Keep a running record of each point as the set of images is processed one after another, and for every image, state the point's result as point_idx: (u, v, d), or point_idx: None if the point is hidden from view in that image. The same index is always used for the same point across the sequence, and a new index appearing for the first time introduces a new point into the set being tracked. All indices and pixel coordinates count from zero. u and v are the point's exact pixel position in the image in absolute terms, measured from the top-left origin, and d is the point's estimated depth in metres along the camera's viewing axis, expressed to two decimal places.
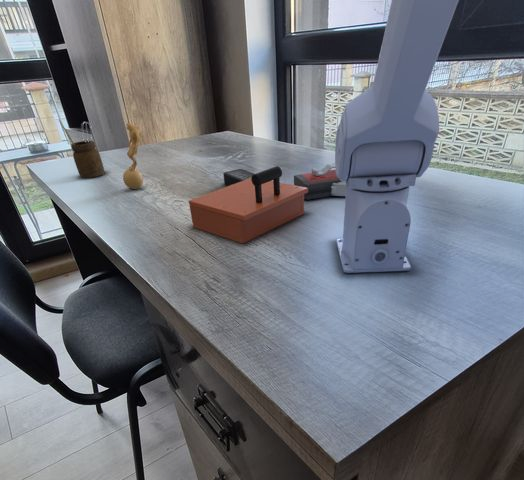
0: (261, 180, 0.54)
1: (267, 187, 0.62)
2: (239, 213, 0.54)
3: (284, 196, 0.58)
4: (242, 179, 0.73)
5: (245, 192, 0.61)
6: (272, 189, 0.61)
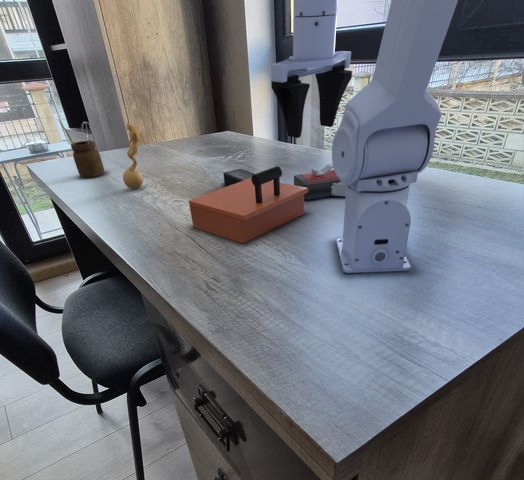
0: (261, 180, 0.54)
1: (267, 187, 0.62)
2: (239, 213, 0.54)
3: (284, 196, 0.58)
4: (242, 179, 0.73)
5: (245, 192, 0.61)
6: (272, 189, 0.61)
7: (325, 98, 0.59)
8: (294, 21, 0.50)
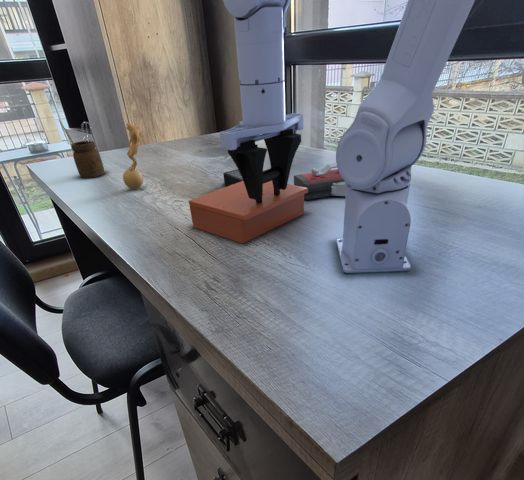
0: None
1: (267, 187, 0.62)
2: (239, 213, 0.54)
3: (284, 196, 0.58)
4: (242, 179, 0.73)
5: (245, 192, 0.61)
6: (272, 189, 0.61)
7: (276, 161, 0.57)
8: (241, 89, 0.48)
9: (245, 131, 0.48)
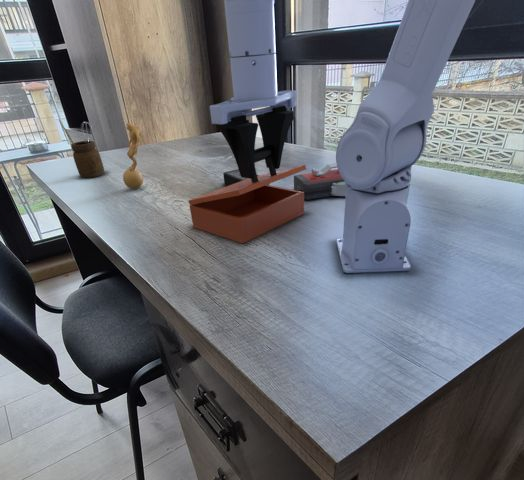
0: None
1: (265, 175, 0.61)
2: (234, 190, 0.52)
3: (281, 173, 0.56)
4: (242, 179, 0.73)
5: (243, 183, 0.60)
6: (269, 174, 0.60)
7: (268, 140, 0.56)
8: (231, 62, 0.47)
9: (235, 105, 0.47)
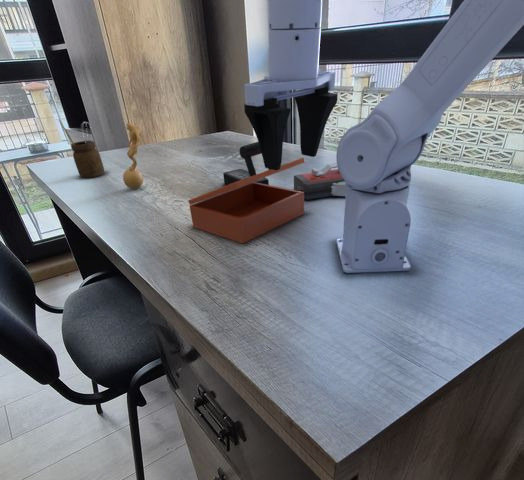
0: (249, 150, 0.53)
1: None
2: (232, 183, 0.52)
3: None
4: (242, 179, 0.73)
5: None
6: None
7: (306, 124, 0.51)
8: (270, 35, 0.42)
9: (274, 85, 0.42)
